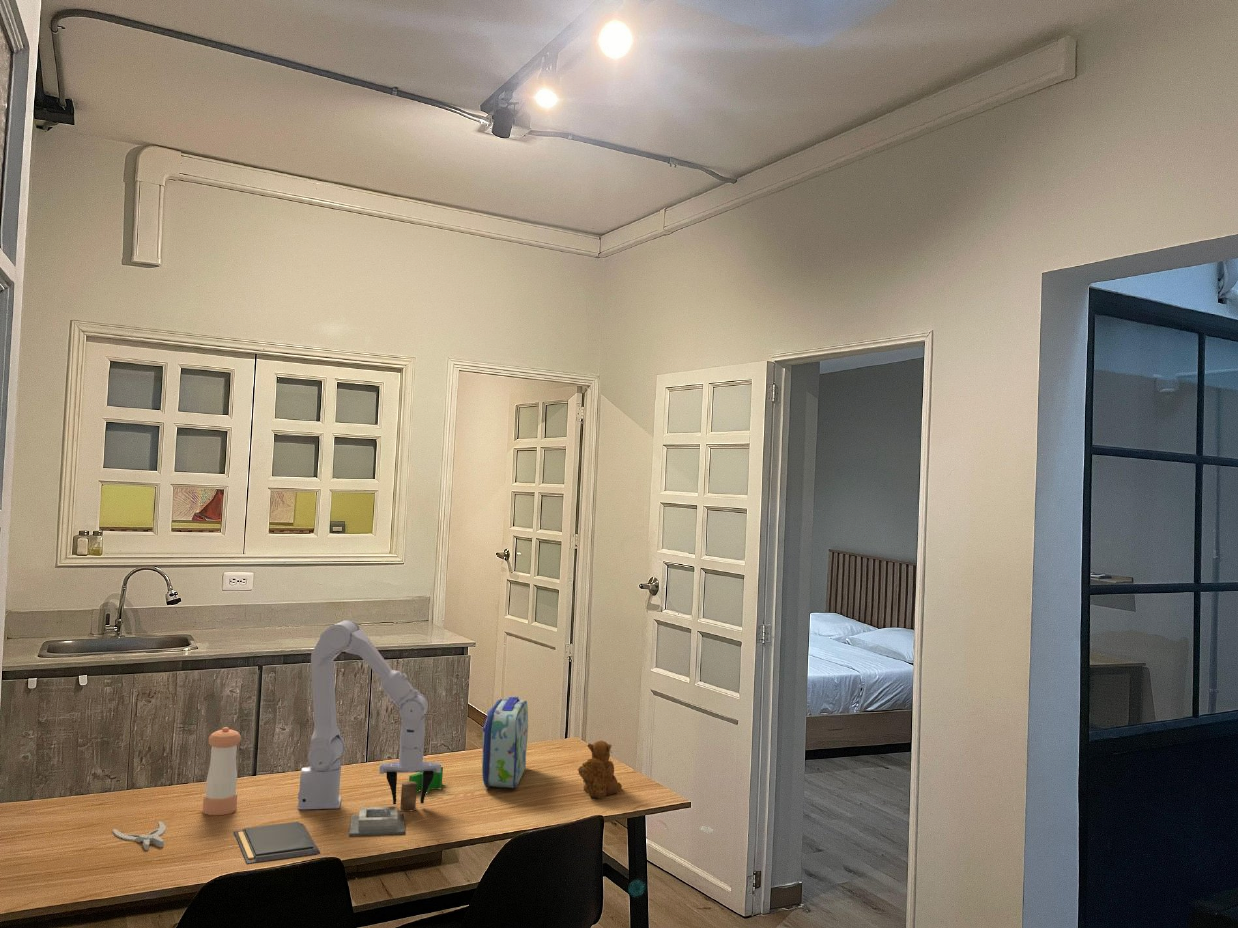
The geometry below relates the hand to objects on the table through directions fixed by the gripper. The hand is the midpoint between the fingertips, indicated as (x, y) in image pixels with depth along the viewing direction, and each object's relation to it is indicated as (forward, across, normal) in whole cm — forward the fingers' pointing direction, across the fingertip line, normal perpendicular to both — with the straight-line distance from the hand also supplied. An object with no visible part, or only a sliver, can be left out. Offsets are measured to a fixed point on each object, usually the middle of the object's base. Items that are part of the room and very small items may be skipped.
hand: (408, 802), depth 218 cm
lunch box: (+2, +26, +22) cm, 34 cm away
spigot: (+1, 0, 0) cm, 1 cm away
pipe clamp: (+2, +6, +14) cm, 16 cm away
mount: (+1, -7, -11) cm, 13 cm away
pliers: (+2, -55, -13) cm, 57 cm away
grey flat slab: (+2, -28, -19) cm, 34 cm away
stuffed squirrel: (+2, +49, +7) cm, 50 cm away
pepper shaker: (+2, -43, +3) cm, 43 cm away
